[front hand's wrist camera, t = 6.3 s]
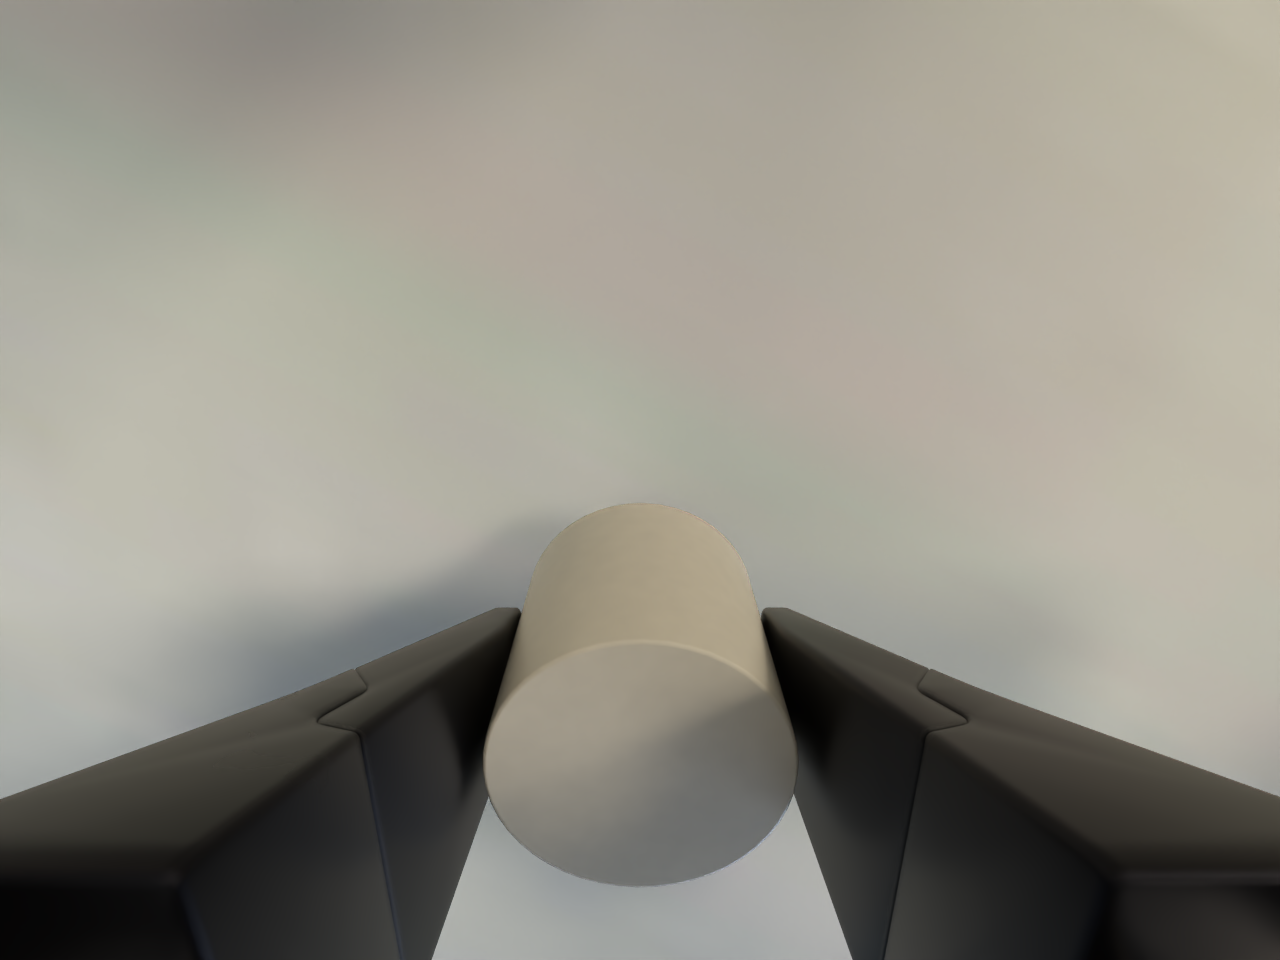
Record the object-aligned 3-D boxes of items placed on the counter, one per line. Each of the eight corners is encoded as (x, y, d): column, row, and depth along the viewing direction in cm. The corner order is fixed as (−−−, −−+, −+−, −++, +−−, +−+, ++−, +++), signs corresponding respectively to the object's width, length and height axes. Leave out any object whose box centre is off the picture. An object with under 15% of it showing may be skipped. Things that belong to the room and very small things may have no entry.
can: (563, 712, 13) (534, 910, 10) (500, 530, 12) (436, 678, 8) (768, 671, 13) (821, 860, 9) (728, 479, 12) (770, 609, 8)
